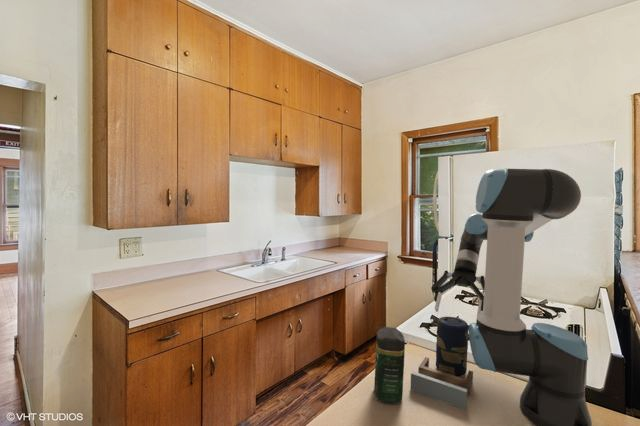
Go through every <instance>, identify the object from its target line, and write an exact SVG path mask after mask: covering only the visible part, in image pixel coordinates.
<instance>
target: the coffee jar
mask: <svg viewBox="0 0 640 426" xmlns="http://www.w3.org/2000/svg"><path fill="white" fill-rule="evenodd" d="M405 343H406V340H405V336H404V334H403V332H401V331H400V330H399V329H397V328H396V327H391V326H389V327H388V326H382V327H381V328H380V329H378V330H377V332H376V341H375V363H374V365H375V366H374V383H373V384H374V387H373V388H374V389H373V391H374V396H375V398H376V400H378V401H379V402H382V403H384V404H388V405H394V404H399V403H402V400H403V392H404V389H403V388H404V372H405V371H404V370H405V354H406V352H405V348H406V347H405V346H406V344H405Z"/></svg>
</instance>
